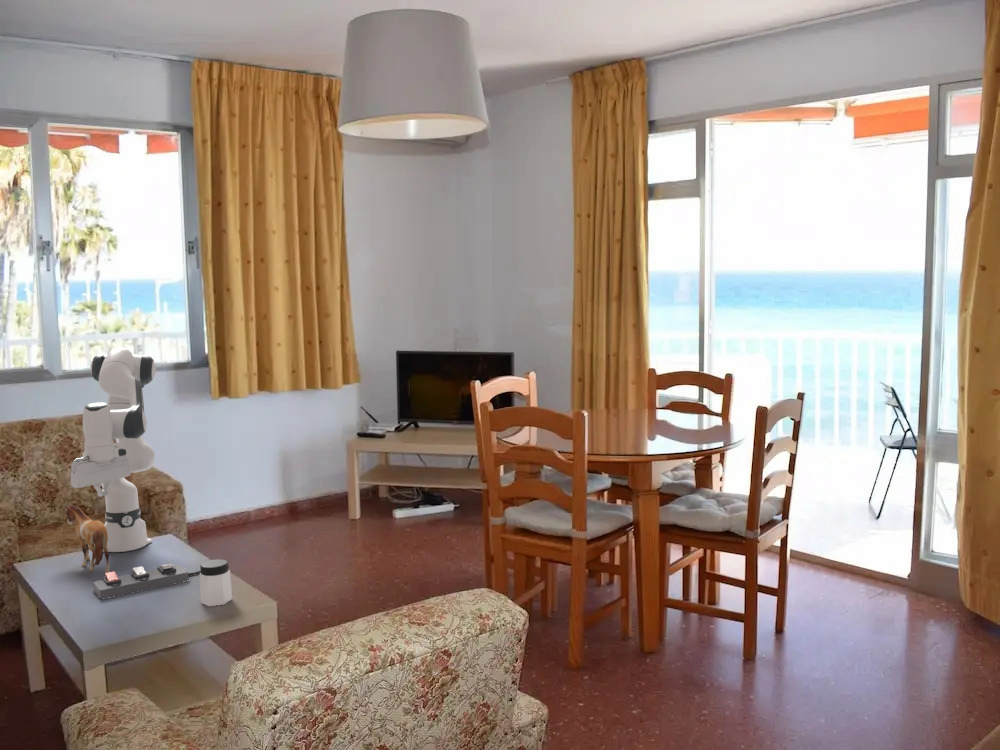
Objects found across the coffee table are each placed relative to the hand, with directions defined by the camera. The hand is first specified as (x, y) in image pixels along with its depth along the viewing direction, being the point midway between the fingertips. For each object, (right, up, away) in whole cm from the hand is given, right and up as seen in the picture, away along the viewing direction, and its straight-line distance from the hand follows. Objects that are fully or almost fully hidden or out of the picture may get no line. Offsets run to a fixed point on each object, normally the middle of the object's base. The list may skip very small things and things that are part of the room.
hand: (103, 495), depth 298 cm
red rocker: (+5, -26, -5) cm, 26 cm away
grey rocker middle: (+12, -25, 0) cm, 28 cm away
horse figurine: (-14, -28, +17) cm, 36 cm away
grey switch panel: (+15, -29, +1) cm, 33 cm away
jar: (+42, -30, -17) cm, 54 cm away
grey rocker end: (+19, -24, +5) cm, 31 cm away
